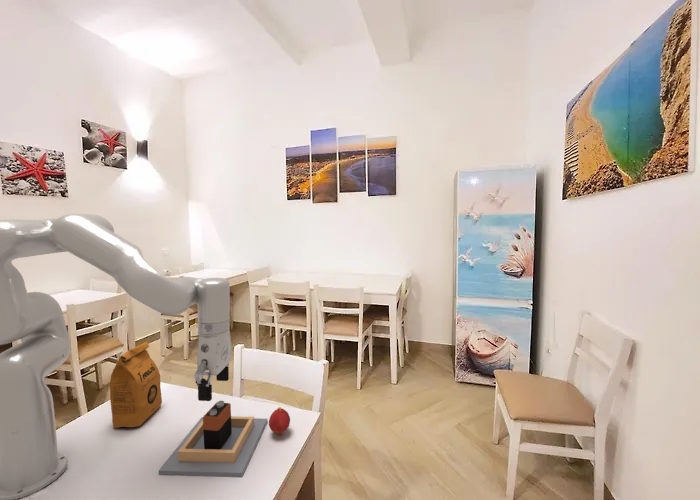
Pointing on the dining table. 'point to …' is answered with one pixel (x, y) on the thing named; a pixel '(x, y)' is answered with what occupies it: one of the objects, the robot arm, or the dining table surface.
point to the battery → (217, 425)
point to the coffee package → (134, 388)
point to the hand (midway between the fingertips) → (214, 389)
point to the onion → (279, 421)
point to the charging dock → (216, 451)
